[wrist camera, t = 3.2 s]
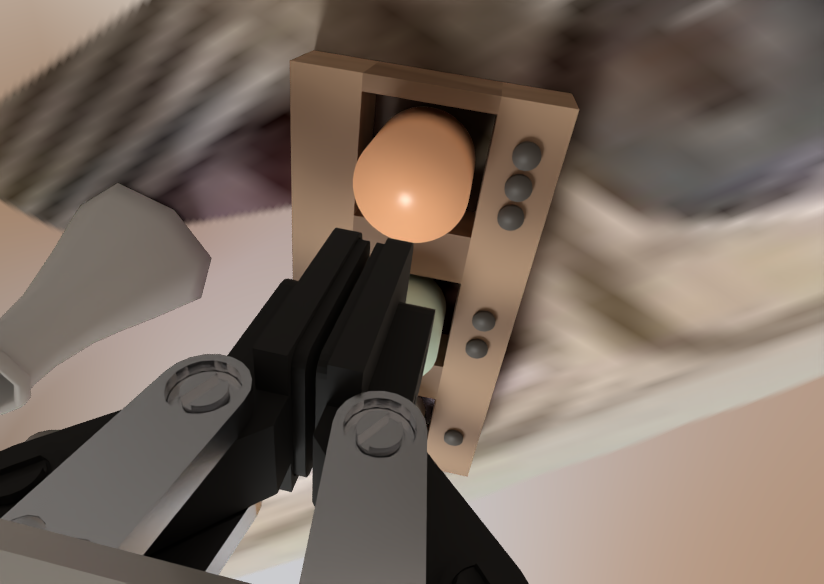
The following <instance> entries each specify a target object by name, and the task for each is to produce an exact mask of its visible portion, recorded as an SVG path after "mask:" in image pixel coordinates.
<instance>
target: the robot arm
mask: <svg viewBox="0 0 824 584" xmlns="http://www.w3.org/2000/svg"><path fill="white" fill-rule="evenodd" d="M413 247H414V243H412V242H407V241H402V240H397V239H392V238H388V239H387V240H386V242H385V244H382V243H376V245H375V247H374V249H373V251H372V253H371V255H370V241H367V240H363V237H362V233H361V232H357V231H352V230H347V229H341V228H335V229H334V230H333V231H332V233H331V234H330V236H329V237H328V238H327V240H326V241H325V243H324V244H323V246H322V247H321V249H320V250H319V252H318V253H317V254H316V256H315V257H314V259H313V260H312V262H311V263H310V265H309V266H308V268H307V269H306V270H305V272H304V273H303V275H302V276H301V278H300V279H299V281H297V280H292V279H284V280H283V281H282V282H281V283H280V285H279V286H278V288H277V289H276V290H275V292H274V293H273V294H272V296H271V297H270V298H269V300H268V301H267V302H266V304H265V305H264V306H263V308H262V309H261V311H260V312H259V313H258V315H257V316H256V317H255V319H254V320H253V321H252V323H251V324H250V325H249V327H248V328H247V330H246V331H245V332H244V334H243V335H242V336H241V338H240V339H239V341H238V342H237V343H236V345H235V346H234V347H233V349H232V350H231V351H230V353H229V354H228V355H227V356H225V355H220V354H205V355H200V356H194V357H190V358H188V359H185V360H183V361H180V362H178V363H176V364H175V365H173V366H172V367H171V368H169V369H168V370H166V371H165V372H164V373H163V374H161V376H159V377H158V378H157V379H156V380H155V381H154V382H152V384H150V385H149V386H148V387H147V388H146V389H145V390H144V391H142V392H141V393H140V394H139V395H138V396H137V397H136V398H135V399H134V400H133V401H131V402H130V403H129V404H128V405H127V406H126V407H125V408H123V410H120V411H117V412H114V413H110V414H107V415H104V416H102V417H99V418H96V419H92V420H89V421H86V422H83V423H80V424H77V425H74V426H71V427H68V428H65V429H62V430H48V431H43V432H38V433H36V434H34V435H32V436H30V437H29V438H28V439H27V440H26V441H25V442H23V443H20V444H17V445H14V446H12V447H10V448H7V449H5V450H2V451H0V584H250V583H246V582H243V581H239V580H235V579H231V578H227V577H224V576H220V575H219V573H220V572H221V570H222V569H223V567H224V566H225V564H226V563H227V561H228V560H229V558H230V557H231V555H232V554H233V552H234V550H235V549H236V547H237V546H238V544H239V543H240V541H241V540H242V538H243V537H244V535H245V534H246V532H247V531H248V529H249V528H250V526H251V524H252V523H253V521H254V520H255V518H256V517H257V515H258V513H259V510H260V508H261V506H262V501H263V500H265V499H267V498H269V497H271V496H273V495H275V494H277V493H278V491H279V489H281V490H285V491H289V492H292V490H293V488H294V486H295V483H296V481H297V479H298V476H304V477H307V476H308V475H309V474H310V472H311V469H312V467H313V492H312V502H313V504H314V506H315V510H314V515H313V519H312V524H311V529H310V534H309V539H308V544H307V548H306V553H305V558H304V563H303V568H302V573H301V578H300V582H299V584H528V582H527V580H526V578H525V577H524V575H523V573H522V572H521V570H520V569H519V568H518V566H517V565H516V564H515V563H514V561H513V560H512V559H511V558H510V556H509V555H508V554H507V553H506V551H505V550H504V549H503V547H502V546H501V545H500V544H499V542H498V541H497V540H496V539H495V537H494V536H493V535H492V534H491V533H490V531H489V530H488V529H487V527H486V526H485V525H484V523H483V522H482V521H481V520H480V519H479V517H478V516H477V515H476V513H475V512H474V511H473V510H472V508H471V507H470V506H469V505H468V503H467V502H466V501H465V499H464V498H463V497H462V496H461V494H460V493H459V492H458V491H457V489H456V488H455V487H454V486H453V484H452V483H451V482H450V480H449V479H448V478H447V477H446V475H445V474H444V473H443V472H442V470H441V469H440V468H439V467H438V465H437V464H436V463H435V462H434V460H433V459H432V458H431V456H430V455H429V454H428V453H427V426H426V421H425V418H424V416H423V415H422V413H421V411H420V410H419V408H418V407H416V402H417V397H418V393H419V389H420V385H421V380H422V376H423V372H424V367H425V363H426V358H427V353H428V348H429V343H430V338H431V333H432V328H433V322H434V317H435V310H436V309H431V308H427V307H422V306H417V305H412V304H407V303H406V298H407V291H408V284H409V277H410V270H411V263H412V256H413Z"/></svg>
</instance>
